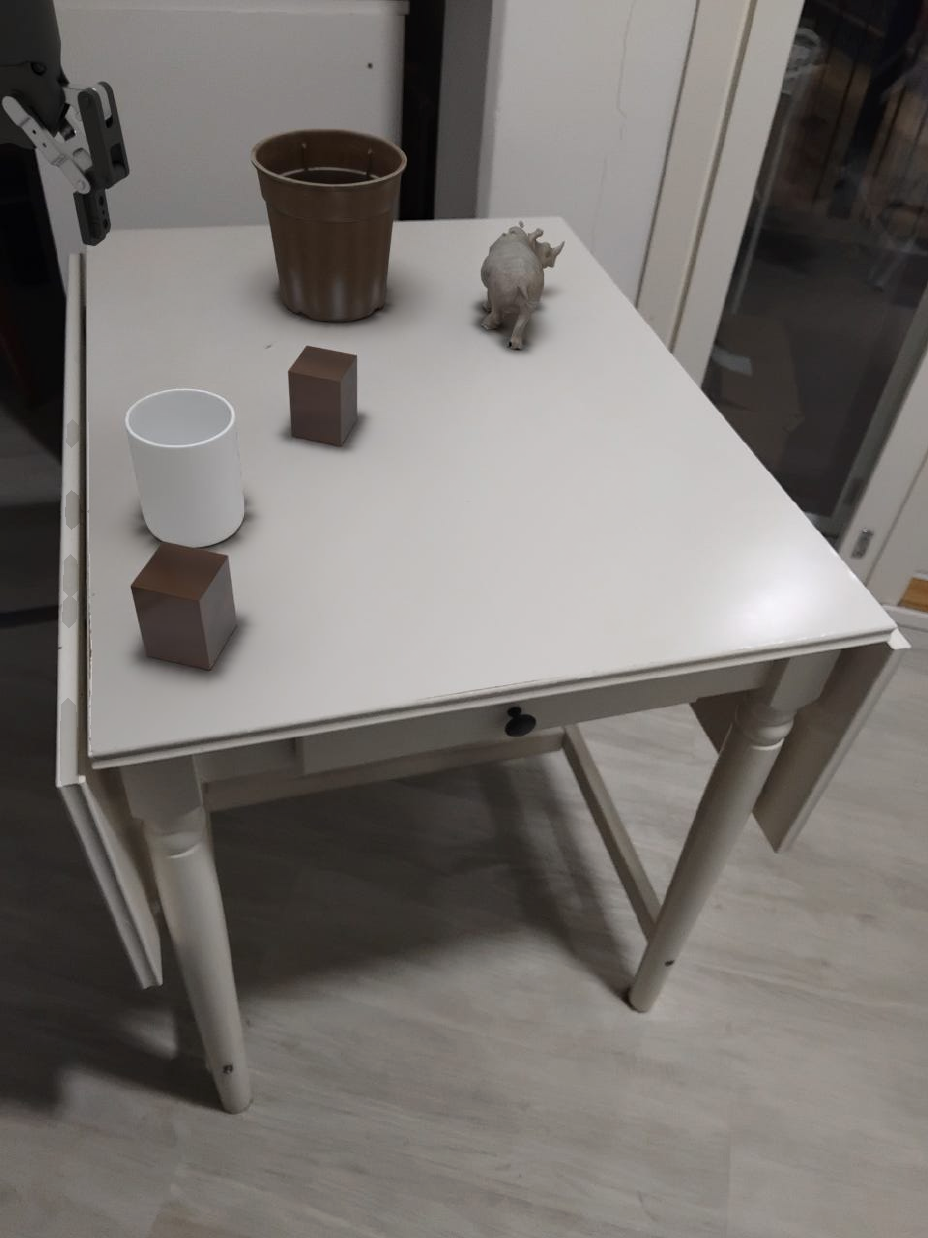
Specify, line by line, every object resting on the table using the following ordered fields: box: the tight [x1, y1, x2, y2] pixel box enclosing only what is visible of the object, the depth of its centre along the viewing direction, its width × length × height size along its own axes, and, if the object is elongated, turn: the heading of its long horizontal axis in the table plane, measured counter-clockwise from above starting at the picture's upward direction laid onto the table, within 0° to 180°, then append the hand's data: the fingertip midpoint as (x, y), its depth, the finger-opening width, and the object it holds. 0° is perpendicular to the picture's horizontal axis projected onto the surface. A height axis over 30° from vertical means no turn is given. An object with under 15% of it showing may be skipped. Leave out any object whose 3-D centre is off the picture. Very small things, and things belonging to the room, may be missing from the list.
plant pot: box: [250, 128, 408, 323], centre depth 105 cm, size 16×16×16 cm
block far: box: [287, 345, 358, 447], centre depth 89 cm, size 5×5×7 cm
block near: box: [130, 541, 238, 671], centre depth 68 cm, size 5×5×7 cm
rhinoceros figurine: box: [480, 220, 566, 351], centre depth 108 cm, size 8×14×15 cm
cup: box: [124, 388, 245, 549], centre depth 78 cm, size 8×12×10 cm
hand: (41, 231), depth 68 cm, fingers open, 8 cm apart
